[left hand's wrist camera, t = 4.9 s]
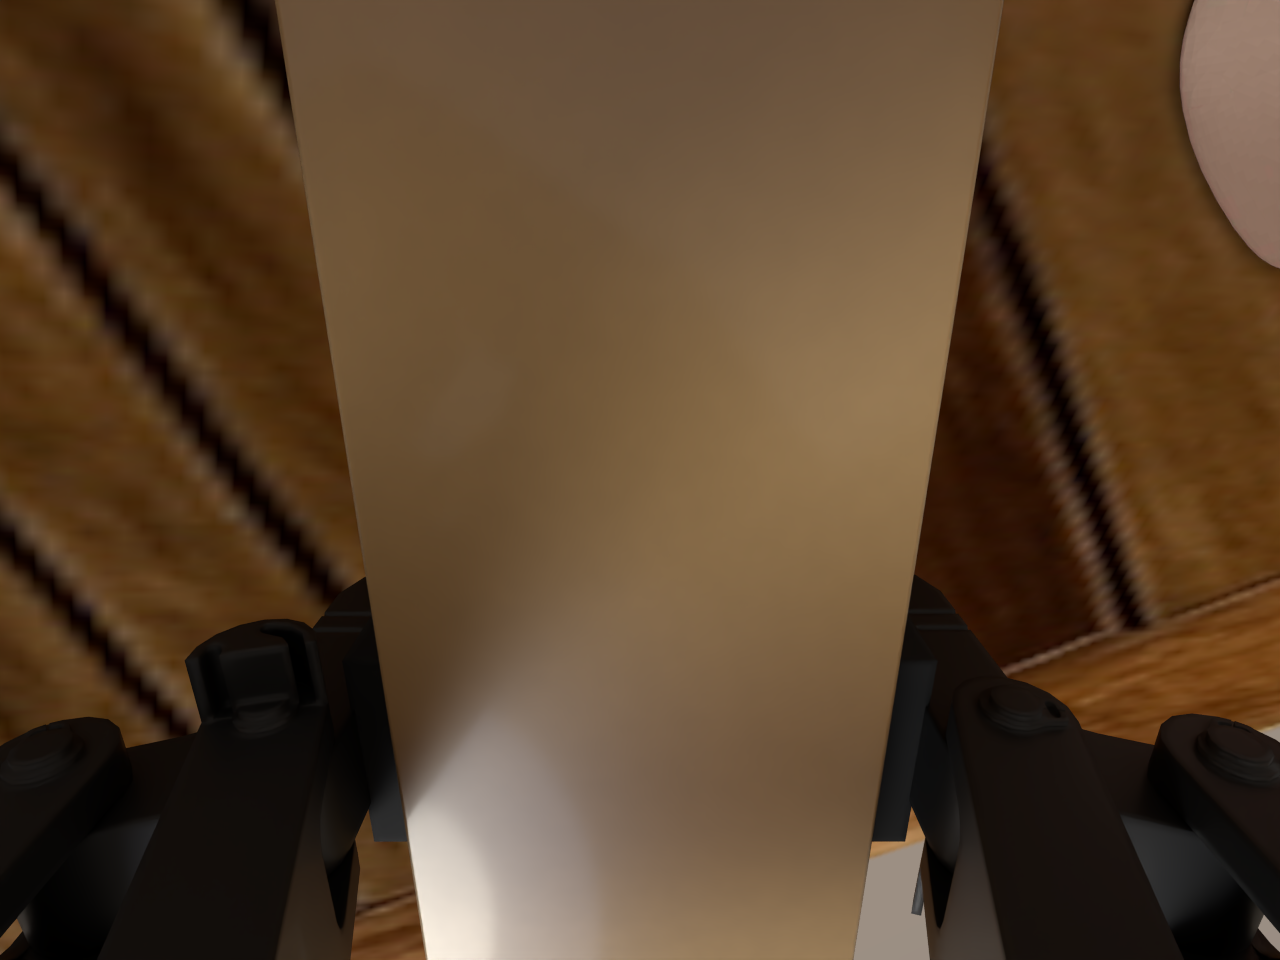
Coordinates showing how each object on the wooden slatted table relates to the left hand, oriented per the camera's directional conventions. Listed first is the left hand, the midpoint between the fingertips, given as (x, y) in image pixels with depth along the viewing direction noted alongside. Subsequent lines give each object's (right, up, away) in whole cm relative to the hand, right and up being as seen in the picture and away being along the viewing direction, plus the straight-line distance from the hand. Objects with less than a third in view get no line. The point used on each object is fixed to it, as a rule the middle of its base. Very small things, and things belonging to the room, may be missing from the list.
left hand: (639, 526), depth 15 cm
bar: (0, +8, -2) cm, 8 cm away
